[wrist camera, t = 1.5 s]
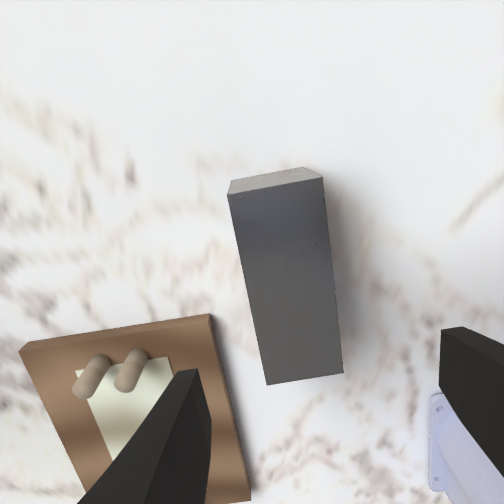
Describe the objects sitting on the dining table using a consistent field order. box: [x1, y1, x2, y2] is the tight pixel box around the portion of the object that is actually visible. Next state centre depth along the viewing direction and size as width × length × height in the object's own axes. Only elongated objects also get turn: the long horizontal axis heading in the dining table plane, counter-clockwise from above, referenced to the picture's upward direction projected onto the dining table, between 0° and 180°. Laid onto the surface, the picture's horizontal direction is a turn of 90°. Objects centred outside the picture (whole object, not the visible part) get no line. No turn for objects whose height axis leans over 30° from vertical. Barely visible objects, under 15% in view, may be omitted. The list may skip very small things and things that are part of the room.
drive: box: [227, 167, 344, 385], centre depth 18 cm, size 10×4×5 cm, turn 10°
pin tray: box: [18, 314, 251, 504], centre depth 22 cm, size 16×12×4 cm
